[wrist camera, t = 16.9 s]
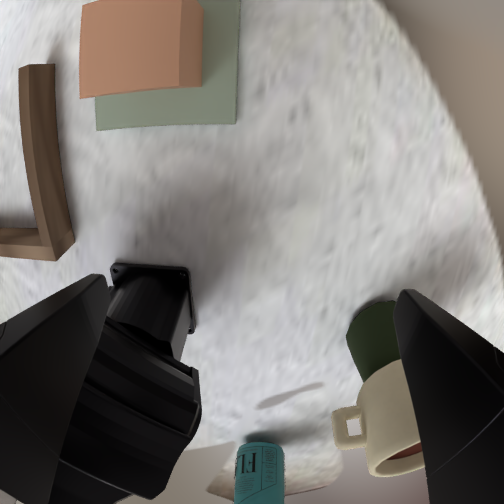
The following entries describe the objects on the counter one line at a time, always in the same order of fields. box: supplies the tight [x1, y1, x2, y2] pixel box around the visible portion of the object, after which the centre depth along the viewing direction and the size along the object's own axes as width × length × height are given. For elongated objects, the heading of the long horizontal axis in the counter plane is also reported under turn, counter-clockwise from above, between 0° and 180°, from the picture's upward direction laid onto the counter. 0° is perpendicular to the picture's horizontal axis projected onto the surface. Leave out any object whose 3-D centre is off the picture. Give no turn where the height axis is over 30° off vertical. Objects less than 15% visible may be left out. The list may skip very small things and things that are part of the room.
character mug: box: [331, 301, 425, 477], centre depth 19 cm, size 11×7×13 cm, turn 97°
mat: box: [95, 0, 240, 131], centre depth 15 cm, size 9×9×1 cm
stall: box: [0, 64, 75, 261], centre depth 17 cm, size 11×14×3 cm
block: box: [79, 0, 204, 99], centre depth 12 cm, size 5×5×5 cm
